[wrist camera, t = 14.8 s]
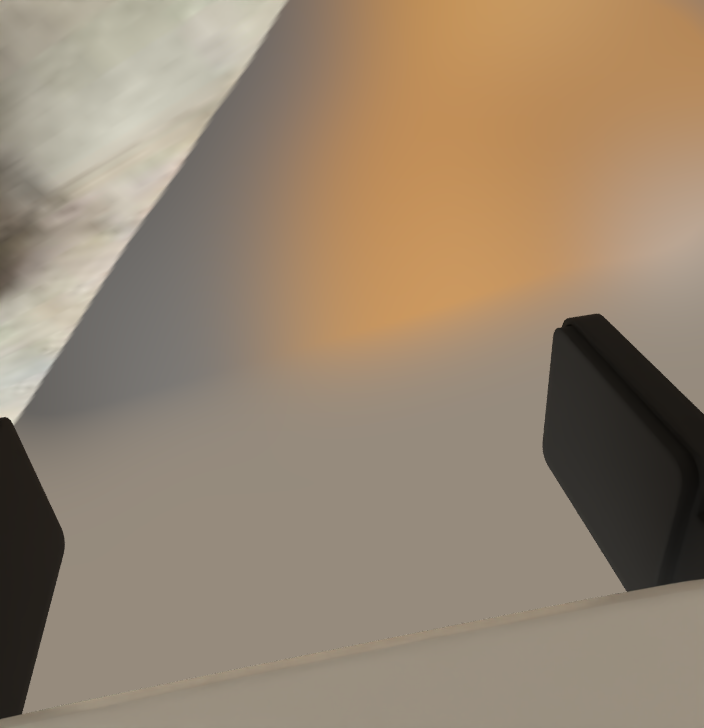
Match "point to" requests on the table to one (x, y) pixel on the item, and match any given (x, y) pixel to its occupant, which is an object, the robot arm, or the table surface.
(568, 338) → the robot arm
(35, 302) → the table surface
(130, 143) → the table surface
